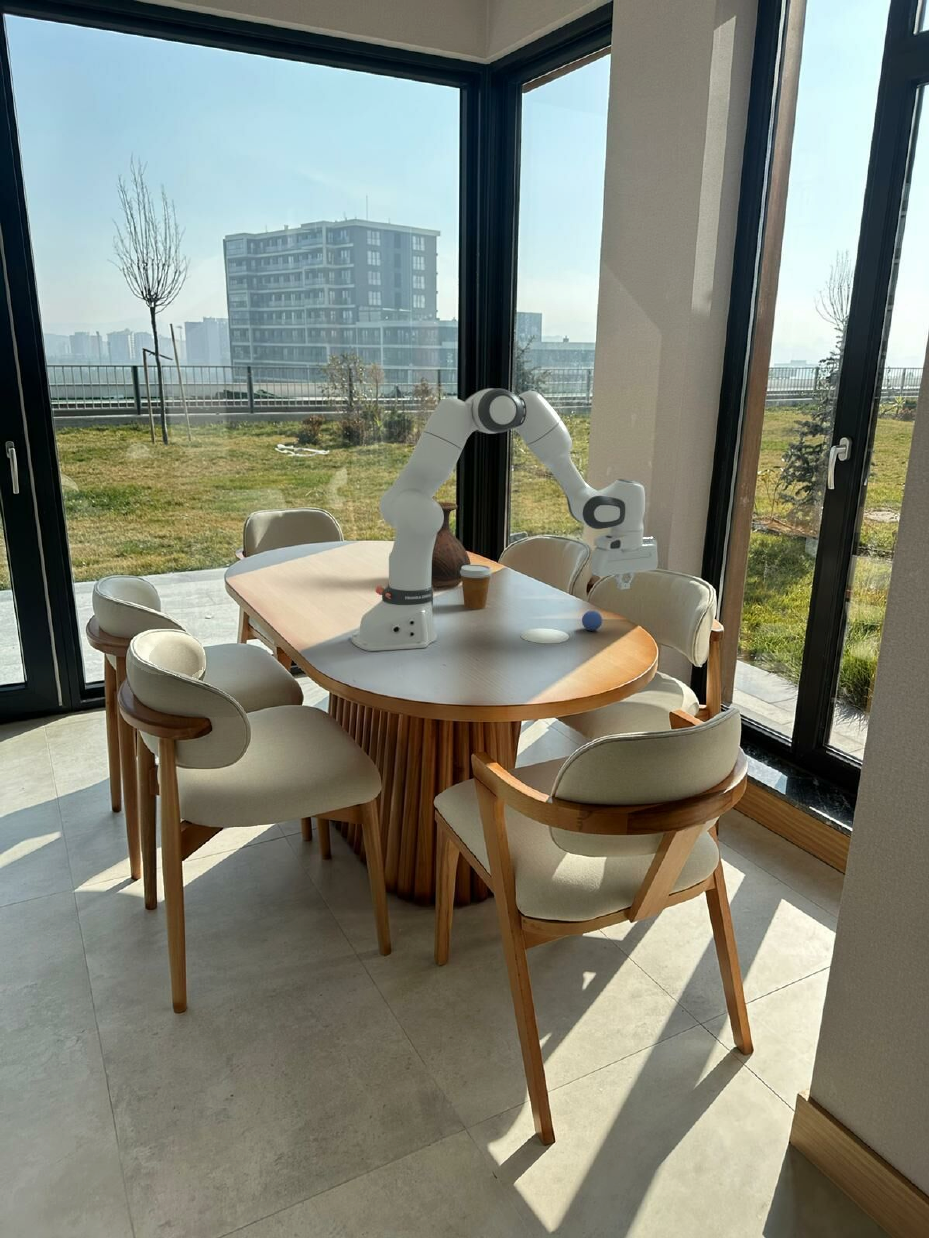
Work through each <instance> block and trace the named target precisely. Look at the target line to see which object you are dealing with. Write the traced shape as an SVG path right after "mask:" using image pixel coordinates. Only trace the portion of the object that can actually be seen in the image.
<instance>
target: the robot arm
mask: <svg viewBox="0 0 929 1238" xmlns="http://www.w3.org/2000/svg"><path fill="white" fill-rule="evenodd" d="M510 430H513V431H515V432H516V433H517V434H518V435H519V436H520V438H521V440H522V441H523V442H524V444H525V446H526V447H527V448H528V450H529V451H530V452H531V454H533V455H534V456H535V458H536V459H537V460H538V461H539V462H541V464H542V465H543V466H545V467H546V468H547V469H548V470H549V472H550V473H551V474H552V476H553V477H554V479H555V480H556V482H557V484H558V485H559V487H560V488H561V490H562V491H563V493H564V494H565V497H566V501H567V507H568V508H567V509H568V511H569V513H570V515H571V518H573V519H574V520H575V521H577V522H578V523H581V524H584V525H585V526H587V527H589V528H591V529H594V530H602V529H603V530H604V529H608V528H610V530H609V531H608V532H606V533H604V534H602V535H600V536H598V537H596V538H594V540H593V545H594V546H595V548H593V551H592V554H591V561H590V571H591V573H592V574H593V575H595V576H597V577H606V576H607V577H608V576H614V578H615V581H616V582H617V589H619V590H625V589H630V588H631V582H632V581H633V579H634V577H635V573H640V572H649V571H656V569H657V568H658V562H659V557H658V554H659V553H658V541H657V539H656V538H654V537H653V536H648V537H644V528H645V527H644V522H643V519H644V516H645V512H646V495H645V494H646V493H645V487H644V485H643V484H641V483H640V482H638V481H636V480H632V479H625V478H618V479H616V480H615V481H614V482H613V483H612V484H610V485H608V486H607V487H604V488H602V489H596V488H595V487H592V486H591V485H589V484H588V483H587V482H586V481H585V480H584V478H583V476H582V475H581V473H580V472H579V470H578V468H577V467H576V466H575V464H574V461H573V460H572V457H571V453H570V452H571V449H572V447H573V440H572V437H571V435H570V432H569V430H568V427H567V426H566V425H565V423H564V422H563V420H562V419H561V417H560V415H559V414H558V413H557V412H556V410H555V409H554V407H552V405H551V404H550V403H549V401H547V400H546V399H545V398H544V397H543V396H542V395H541V394H540V392H537V391H535V390H534V391H533V390H528V391H524V392H522V393H520V394H516V393H513V392H512V391H510V390H507V389H505V388H500V387H499V388H496V387H495V388H490V387H489V388H484V389H481V390H478V391H476V392H474V393H472V394H471V395H469V396H468V397H467V398H465V399H464V400H461V399H459V398H457V397H456V398H455V397H447V398H446V397H445V398H443V399H441V400H440V402H439V403H438V404H437V406H436V407H435V409H434V410H433V412H432V413H431V415H430V416H429V418H428V420H427V421H426V424H425V426H424V427H423V430H422V432H421V434H420V436H419V438H418V441H417V443H416V445H415V447H414V448H413V449H414V450H413V451H412V453H411V455H410V458H409V460H408V461H407V463H406V465H405V466H404V467H403V469H402V470H401V472H400V473H399V474H398V476H397V478H396V479H395V481H394V482H393V483H392V485H391V486H390V487H389V488H388V489H387V490H385V492H383V494H382V496H381V497H380V499H379V502H378V504H379V505H378V508H379V513H380V514H381V517H382V519H383V520H384V521H385V522H386V523H387V524H388V525H389V526H390V527H391V528H394V530H395V534H394V535H395V536H394V541H393V547H392V549H391V551H390V553H389V554H388V585H386V587H385V588H384V587H382V586H380V585H379V586H377V587H376V588H375V593H376V594H378V595H380V596H381V600H380V601H379V602H378V603H377V604H376V605H374V607H372V608H371V609H370V610H368V611H367V612H366V613H364V614H363V615H362V617H361V620H360V625H359V629H358V632H354V633H351V637H350V641H351V643H352V644H354V645H355V646H356V647H358V648H359V649H362V650H365V651H369V652H370V651H371V652H375V651H376V652H377V651H378V652H379V651H393V650H394V651H395V650H408V649H409V650H410V649H424V648H427V647H428V646H429V645H430V644H432V643H433V642H435V641H436V640H437V639H438V635H437V631H436V628H435V622H434V616H433V615H434V614H433V606H434V588H433V586H432V585H431V576H432V554H433V548H434V544H435V540H436V536H437V532H438V531H439V530H440V529H441V527H442V525H443V521H444V514H443V510H442V508H441V506H440V505H439V504H438V503H437V502H438V501H436V500H437V499H436V498H435V494H436V493H437V492H438V491H439V489H440V488H441V486H443V485H444V484H445V483H446V482H447V481H449V479H450V478H451V475H452V474H453V472H454V469H455V467H456V465H457V463H458V460H459V458H460V456H461V453H462V451H463V449H464V447H465V445H466V443H467V440H468V438H469V437H470V436H471V435H472V433H473V432H477V433H485V434H488V435H489V434H493V435H494V434H500V433H505V432H508V431H510ZM433 496H434V498H435V499H436V500H435V499H434V498H432V497H433ZM624 574H625V576H626V577H625V579H624V581H623V578H624Z"/></svg>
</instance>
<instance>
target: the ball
mask: <svg viewBox="0 0 929 1238" xmlns="http://www.w3.org/2000/svg"><path fill="white" fill-rule="evenodd" d="M581 623H582V626H583V627H584V628H585V629H586V630H588V631H590V632H591V631H597V630H598V629H599V628H600V627H602V624H603V617H602V615H601V613H600V612H598V611H596V610H588V611H585V613H584V614H583V615H582V618H581Z"/></svg>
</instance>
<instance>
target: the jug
mask: <svg viewBox="0 0 929 1238" xmlns="http://www.w3.org/2000/svg"><path fill="white" fill-rule="evenodd" d="M432 498H434V499H435V500H436V501H437V499H436V497H435V495H434V496H433V497H432ZM437 503H438V504H439V505H440V506H441V508H442V510H443V514H444V521H443V525H442V527H441V529H440V530H439V531H438V532H437V536H436V540H435V544H434V548H433V554H432V576H431V585H432V586H433V589H434V590H435V589H436V590H438V589H440V590H441V589H447V588H454V587H457V586H458V585H460V583H461V584H462V577H461V573H460V570H461V567H462V566H465V565H472V564H471V559H470V557H469V555H468V552H467V550H466V548H465V547H464V545H463V544H462V542H461V541H460V540H459V539H458V538H457V537H456V536H455V535H454V534H452V531H451V528H450V514H451V512H452V511H454V510H457V509H458V506H459V505H457V504H456V503H452V502H447V501H446V502H444V501H443V502H439V501H437Z"/></svg>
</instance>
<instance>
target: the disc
mask: <svg viewBox="0 0 929 1238" xmlns="http://www.w3.org/2000/svg"><path fill="white" fill-rule="evenodd" d="M520 638H521V639H523V640H525V641H527V642H530V643H536V644H544V645H545V644H549V645H550V644H561V643H564V642H566V641H569V638H570V636H569V634H568V633H566V632H564V631H562V630H557V629H551V628H531V629H530V628H529V629H526V630H523V631H521V632H520Z"/></svg>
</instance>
